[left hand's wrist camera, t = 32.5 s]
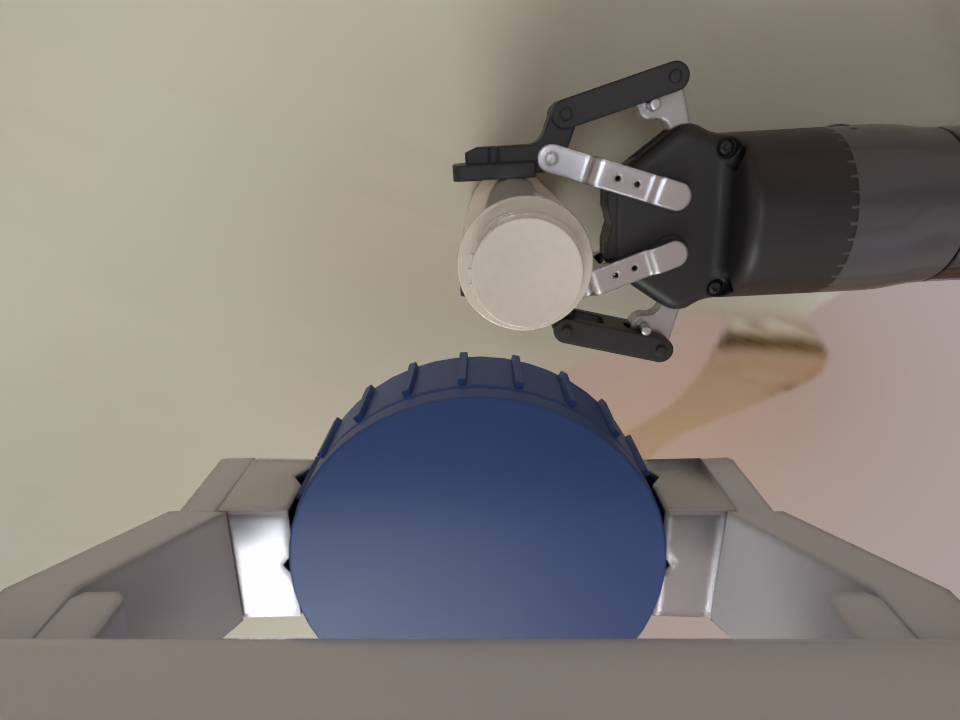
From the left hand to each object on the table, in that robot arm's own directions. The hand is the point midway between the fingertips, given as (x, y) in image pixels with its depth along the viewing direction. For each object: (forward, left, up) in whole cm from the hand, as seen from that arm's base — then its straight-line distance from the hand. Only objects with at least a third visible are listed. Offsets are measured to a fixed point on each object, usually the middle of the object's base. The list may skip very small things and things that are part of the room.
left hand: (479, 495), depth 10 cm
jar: (+2, -1, -28) cm, 27 cm away
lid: (0, 0, +1) cm, 2 cm away
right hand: (+1, +2, -21) cm, 21 cm away
